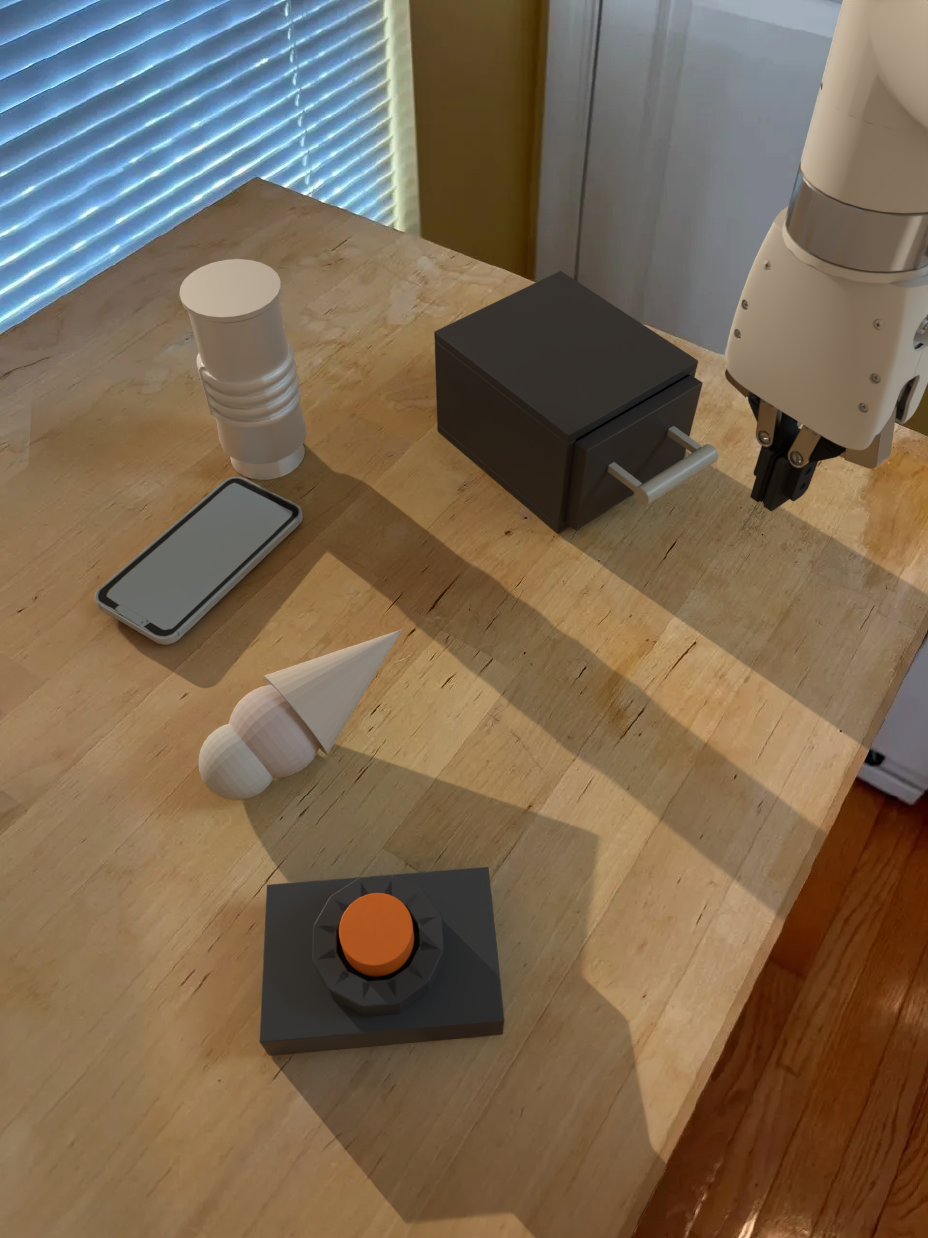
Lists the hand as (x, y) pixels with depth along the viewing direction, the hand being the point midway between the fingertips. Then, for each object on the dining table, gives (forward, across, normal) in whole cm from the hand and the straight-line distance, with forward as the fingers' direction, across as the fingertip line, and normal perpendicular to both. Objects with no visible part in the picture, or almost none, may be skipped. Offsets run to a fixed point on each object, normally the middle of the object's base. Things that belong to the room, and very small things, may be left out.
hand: (775, 494), depth 59 cm
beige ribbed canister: (+9, +33, +18) cm, 39 cm away
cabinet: (+9, +20, 0) cm, 22 cm away
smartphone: (+9, +26, +28) cm, 40 cm away
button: (+6, -5, +35) cm, 36 cm away
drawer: (+8, +16, 0) cm, 18 cm away
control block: (+10, -5, +35) cm, 36 cm away
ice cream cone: (+10, +10, +30) cm, 33 cm away
